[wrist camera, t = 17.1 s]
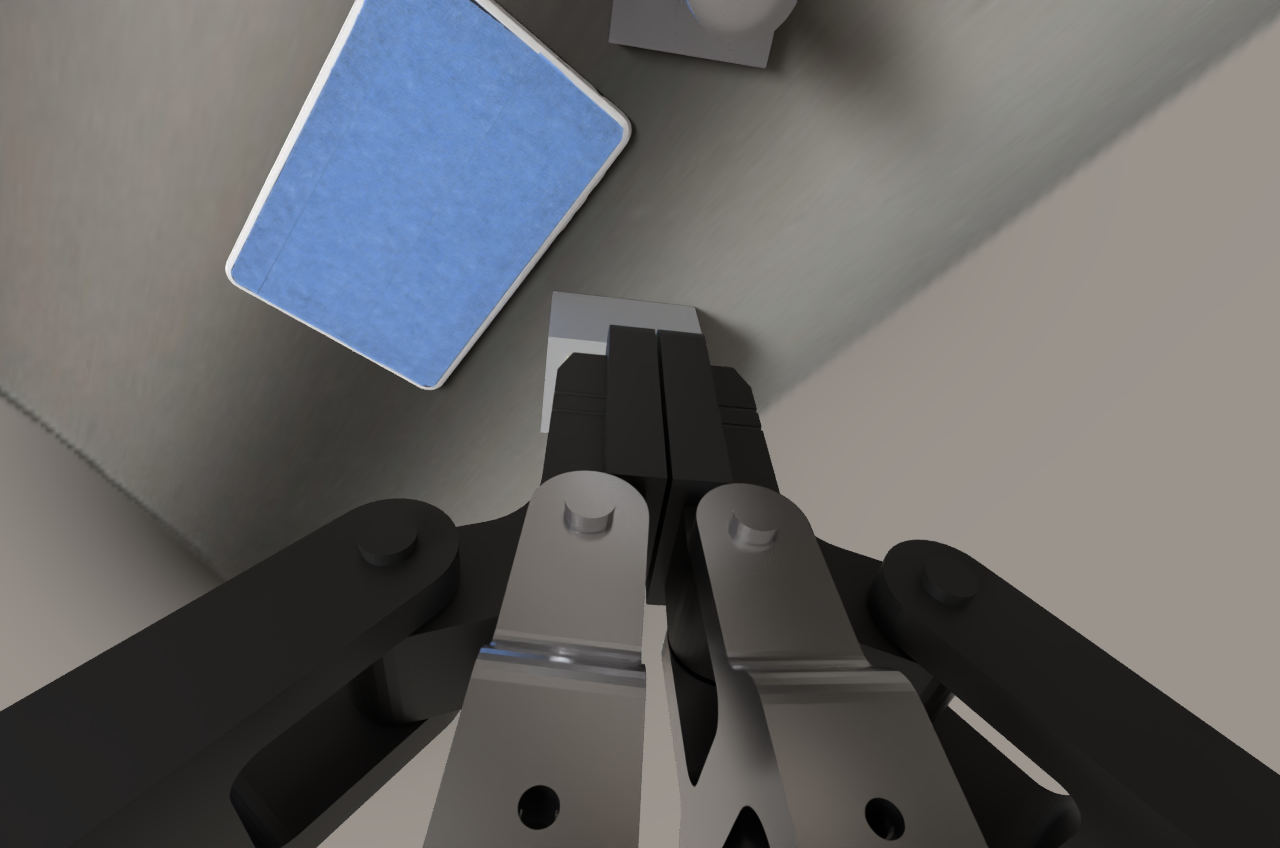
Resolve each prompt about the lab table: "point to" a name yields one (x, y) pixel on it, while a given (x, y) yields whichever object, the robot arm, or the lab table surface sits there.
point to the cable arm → (740, 17)
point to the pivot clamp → (678, 33)
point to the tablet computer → (424, 181)
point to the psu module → (601, 329)
